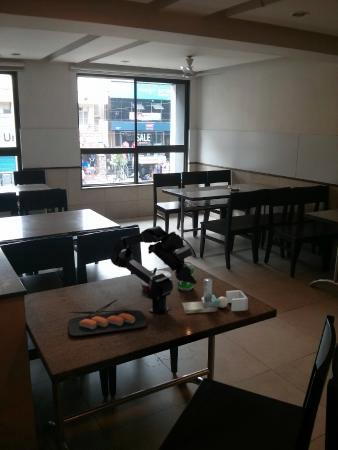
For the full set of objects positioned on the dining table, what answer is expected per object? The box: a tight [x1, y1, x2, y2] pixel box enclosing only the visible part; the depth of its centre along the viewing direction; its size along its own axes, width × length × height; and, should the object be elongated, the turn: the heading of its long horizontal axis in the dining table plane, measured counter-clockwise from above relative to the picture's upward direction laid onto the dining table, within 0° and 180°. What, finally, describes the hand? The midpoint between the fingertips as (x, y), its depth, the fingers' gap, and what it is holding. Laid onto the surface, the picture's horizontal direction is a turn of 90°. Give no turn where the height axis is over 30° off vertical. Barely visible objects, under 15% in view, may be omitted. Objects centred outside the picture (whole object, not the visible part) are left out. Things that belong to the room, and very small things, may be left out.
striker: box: [200, 278, 218, 307], centre depth 167 cm, size 6×6×11 cm
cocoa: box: [140, 267, 158, 293], centre depth 185 cm, size 10×6×12 cm, turn 27°
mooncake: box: [151, 269, 172, 281], centre depth 200 cm, size 12×12×4 cm
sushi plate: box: [67, 299, 148, 337], centre depth 162 cm, size 29×30×4 cm
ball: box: [216, 296, 229, 309], centre depth 169 cm, size 4×4×4 cm
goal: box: [225, 289, 249, 312], centre depth 170 cm, size 6×9×5 cm
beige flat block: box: [181, 301, 218, 314], centre depth 168 cm, size 13×7×2 cm, turn 98°
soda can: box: [177, 261, 195, 292], centre depth 188 cm, size 8×8×12 cm
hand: (193, 279), depth 165 cm, fingers open, 9 cm apart
